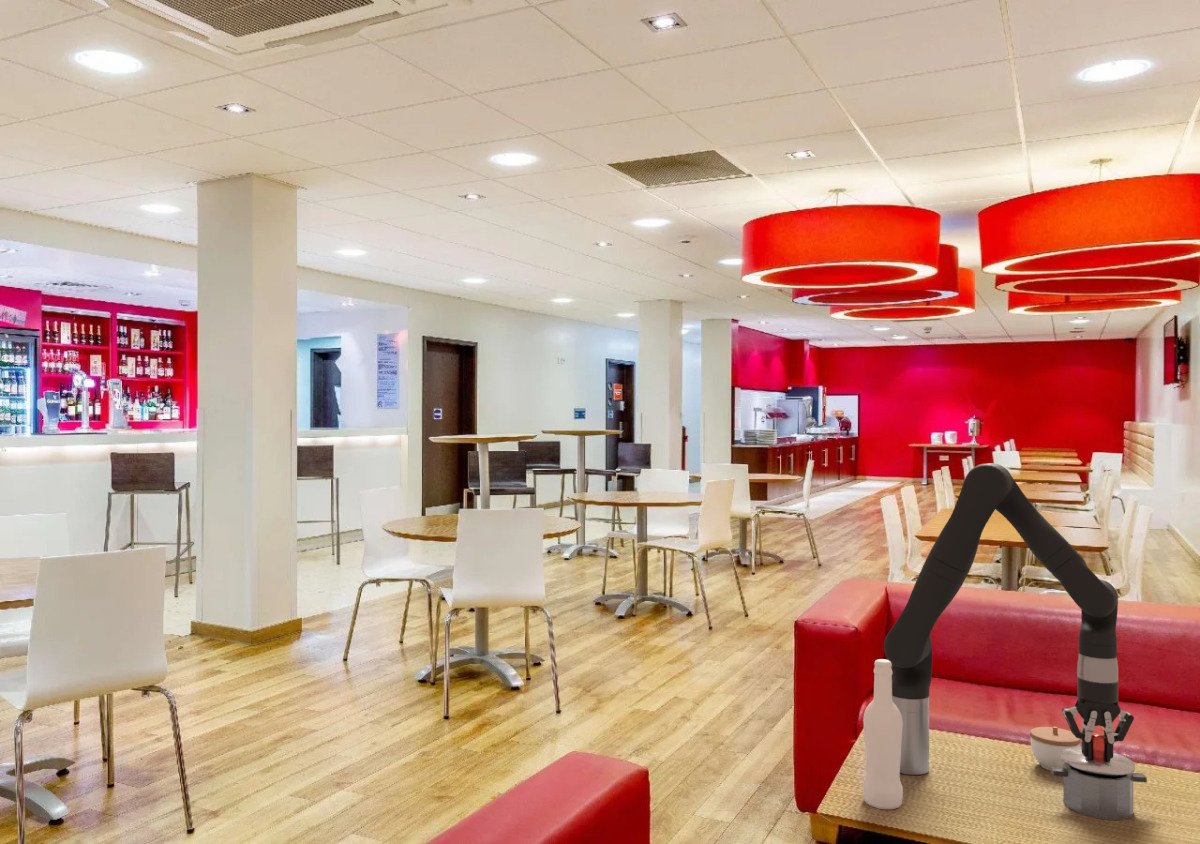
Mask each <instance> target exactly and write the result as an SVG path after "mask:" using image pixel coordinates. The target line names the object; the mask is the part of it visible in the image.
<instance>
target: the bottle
mask: <svg viewBox="0 0 1200 844" xmlns="http://www.w3.org/2000/svg"><path fill="white" fill-rule="evenodd" d="M873 664H874V665H873V666H874V668H873V673H874V675H873V677H874V679H873V680H874V681H873V698H872V700H871V702H870V703H869V704H868V705H867V706H866V708H865V710H864V713H863V717H862V719H863V722H862V723H863V734H864V735H863V736H864V737H863V739H864V752H865V754H864V756H865V777H864V780H863V783H862V797H863V800H864V802H865V803H866V804H867V805H869V806H870V807H872V808H875V809H879V810H895V809H897V808H900V807H901V805H902V803H903V799H904V788H903V785H902V783H901V779H900V778H901V776H900V774H901V773H900V758H901V743H902V727H903V721H902V716H901V713H900V711H899V709H898V708H897V706H896V705H895V704H894V702H893V701H892V663H891V661H889V660H888V659H887V658H886V659H883V658H879V659H876V660H875V661H874V663H873Z"/></svg>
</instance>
